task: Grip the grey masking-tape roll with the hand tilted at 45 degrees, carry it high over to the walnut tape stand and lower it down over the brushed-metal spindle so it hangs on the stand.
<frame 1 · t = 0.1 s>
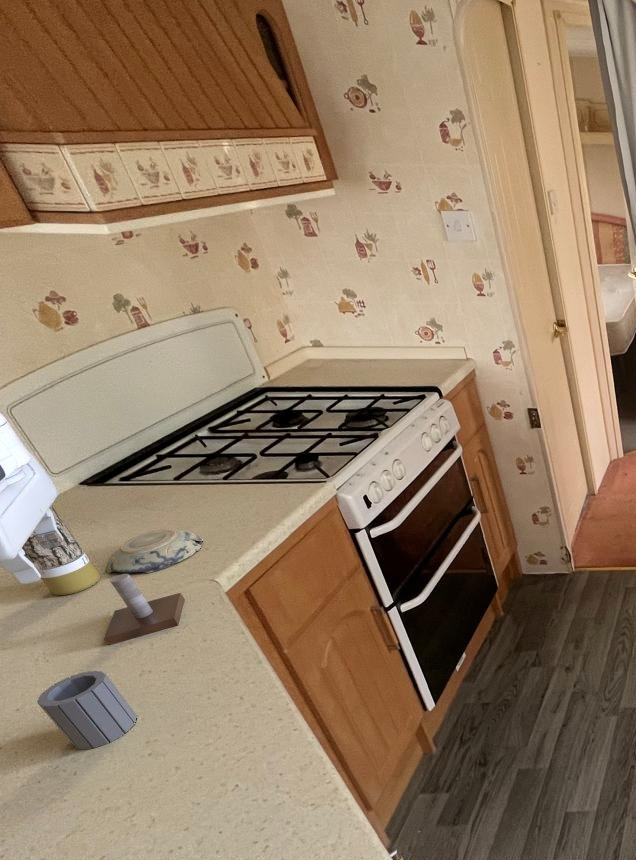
hand: (44, 561, 82), 26 cm above the counter, tool pointing down, fingers open, 8 cm apart
tape stand: (148, 621, 114), on the counter
decorative bowl: (157, 556, 133), on the counter
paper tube: (78, 587, 125), on the counter
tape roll: (106, 730, 93), on the counter
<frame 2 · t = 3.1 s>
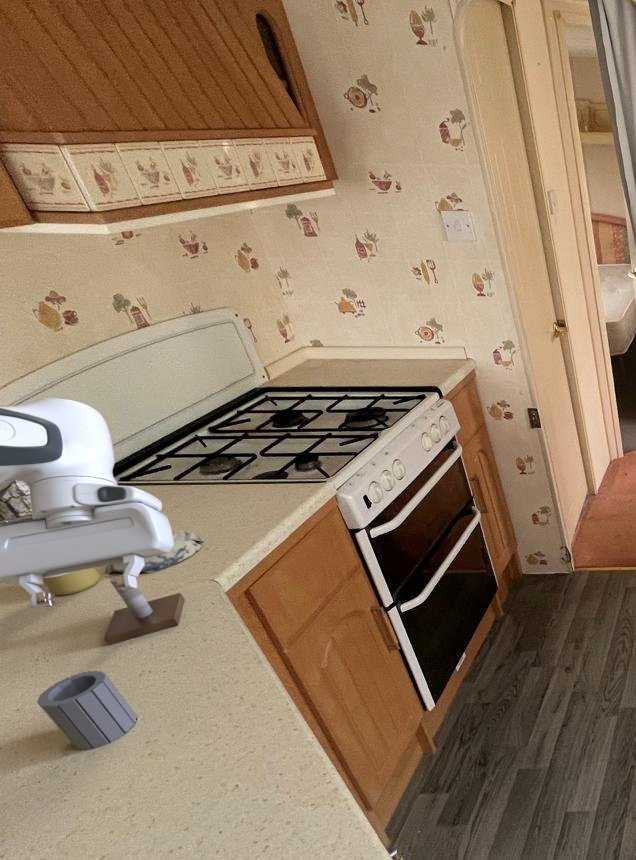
hand: (86, 597, 95), 15 cm above the counter, tool tilted 45°, fingers open, 8 cm apart
nothing on the counter moved.
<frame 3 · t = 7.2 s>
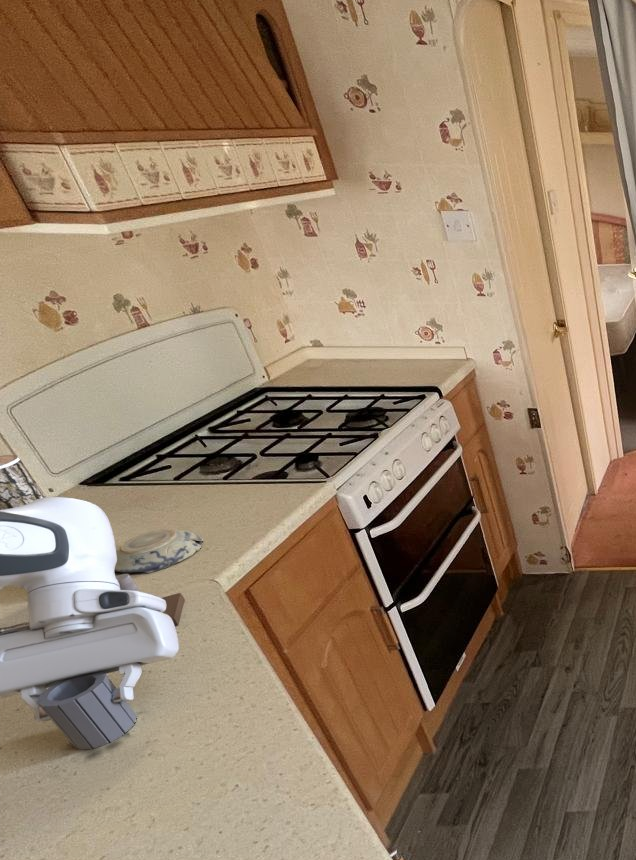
hand: (86, 710, 90), 4 cm above the counter, tool tilted 45°, fingers closed on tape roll, 7 cm apart
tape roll: (106, 730, 93), on the counter, touching gripper
everything else where it was.
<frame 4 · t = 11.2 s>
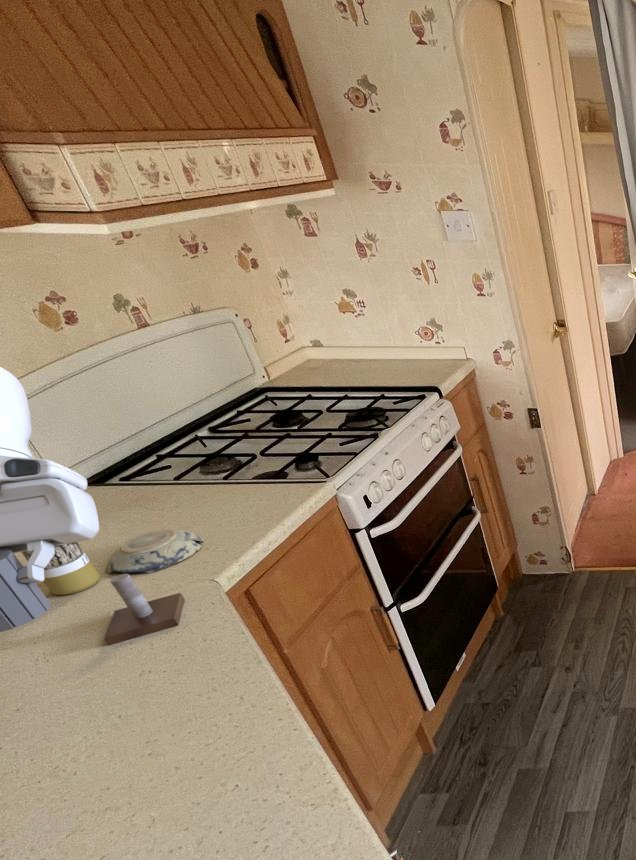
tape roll: (13, 617, 83), point 20 cm above the counter, touching gripper
everything else where it was.
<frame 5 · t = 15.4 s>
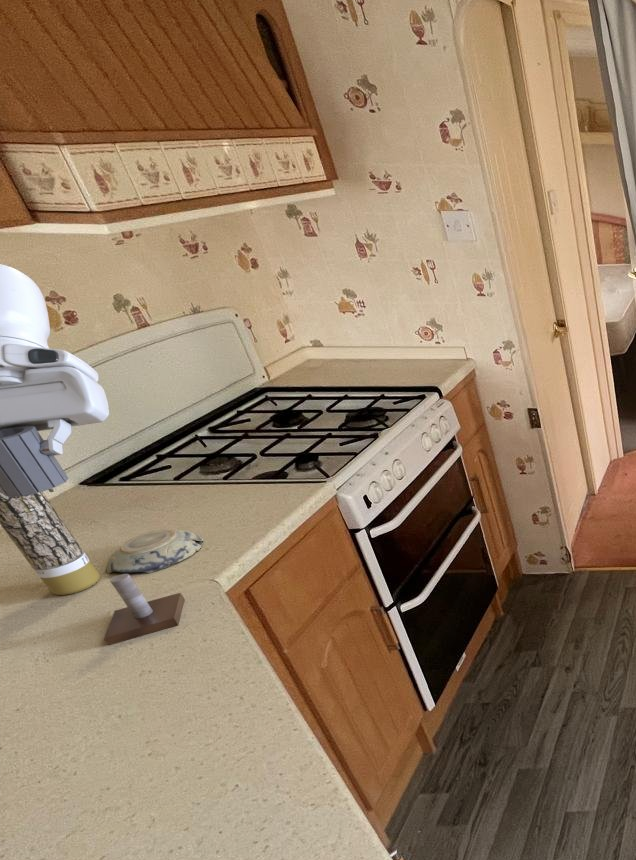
hand: (15, 459, 93), 32 cm above the counter, tool tilted 45°, fingers closed on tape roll, 7 cm apart
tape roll: (36, 486, 96), point 28 cm above the counter, touching gripper
everything else where it was.
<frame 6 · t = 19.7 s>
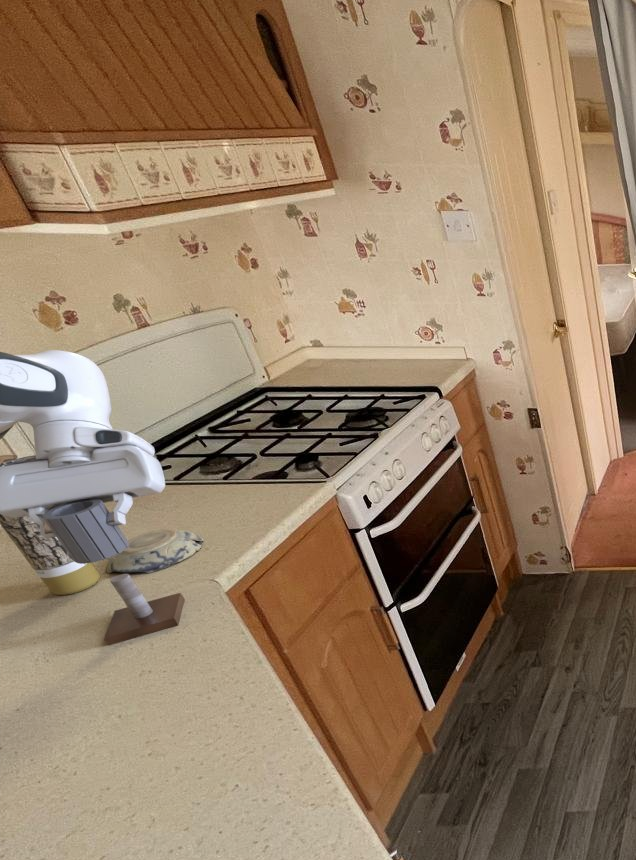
hand: (84, 530, 104), 18 cm above the counter, tool tilted 45°, fingers closed on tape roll, 7 cm apart
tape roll: (102, 552, 107), point 14 cm above the counter, touching gripper
everything else where it was.
when the fingers open (6 cm above the counter, at t = 23.6 s): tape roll stays where it is, resting on tape stand.
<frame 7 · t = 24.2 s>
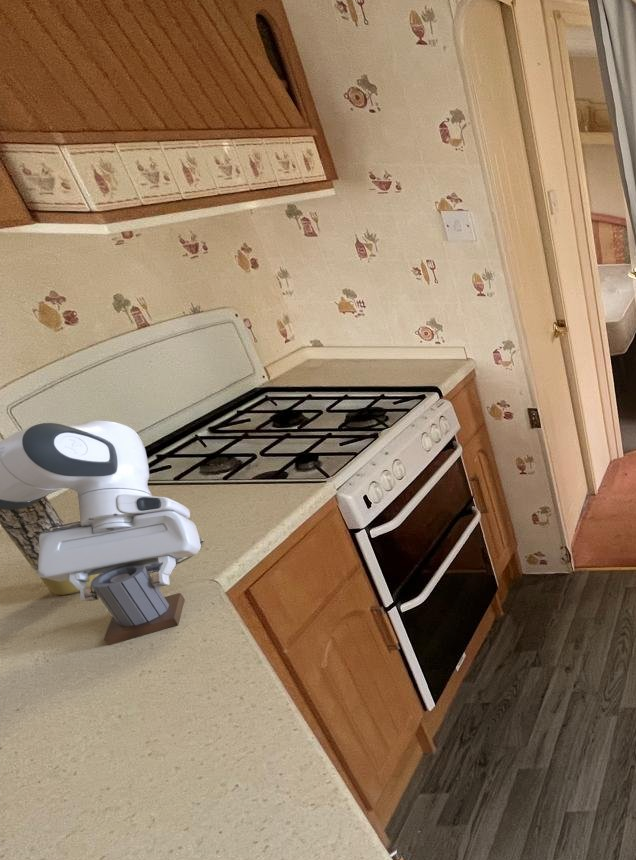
hand: (126, 592, 111), 6 cm above the counter, tool tilted 45°, fingers open, 8 cm apart
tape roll: (144, 614, 114), point 1 cm above the counter, touching tape stand
everything else where it was.
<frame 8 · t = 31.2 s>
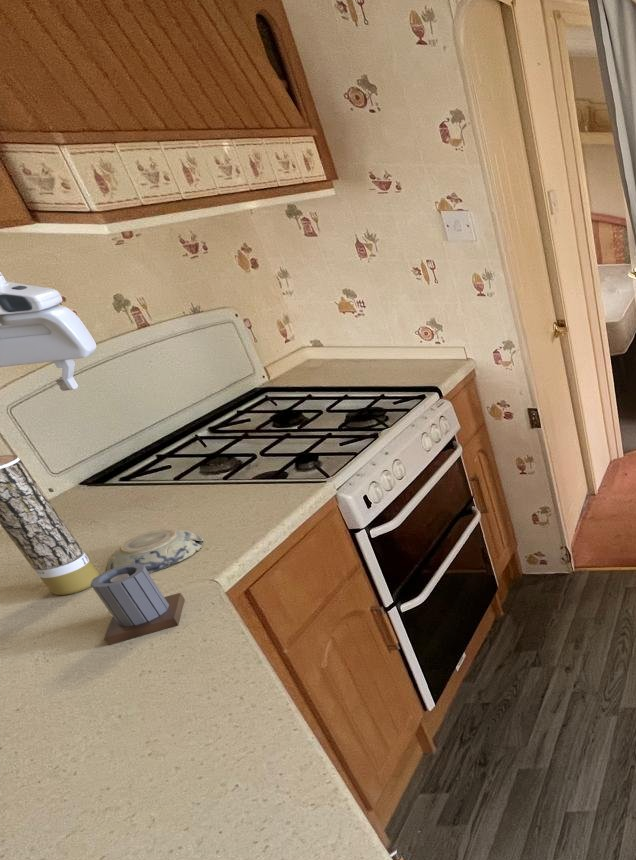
hand: (31, 394, 103), 37 cm above the counter, tool pointing down, fingers open, 8 cm apart
nothing on the counter moved.
at the end: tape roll 0.0 cm off-centre on the tape stand, point 1.5 cm above the tape stand's base; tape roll tilted 0°; the gripper is holding nothing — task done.
